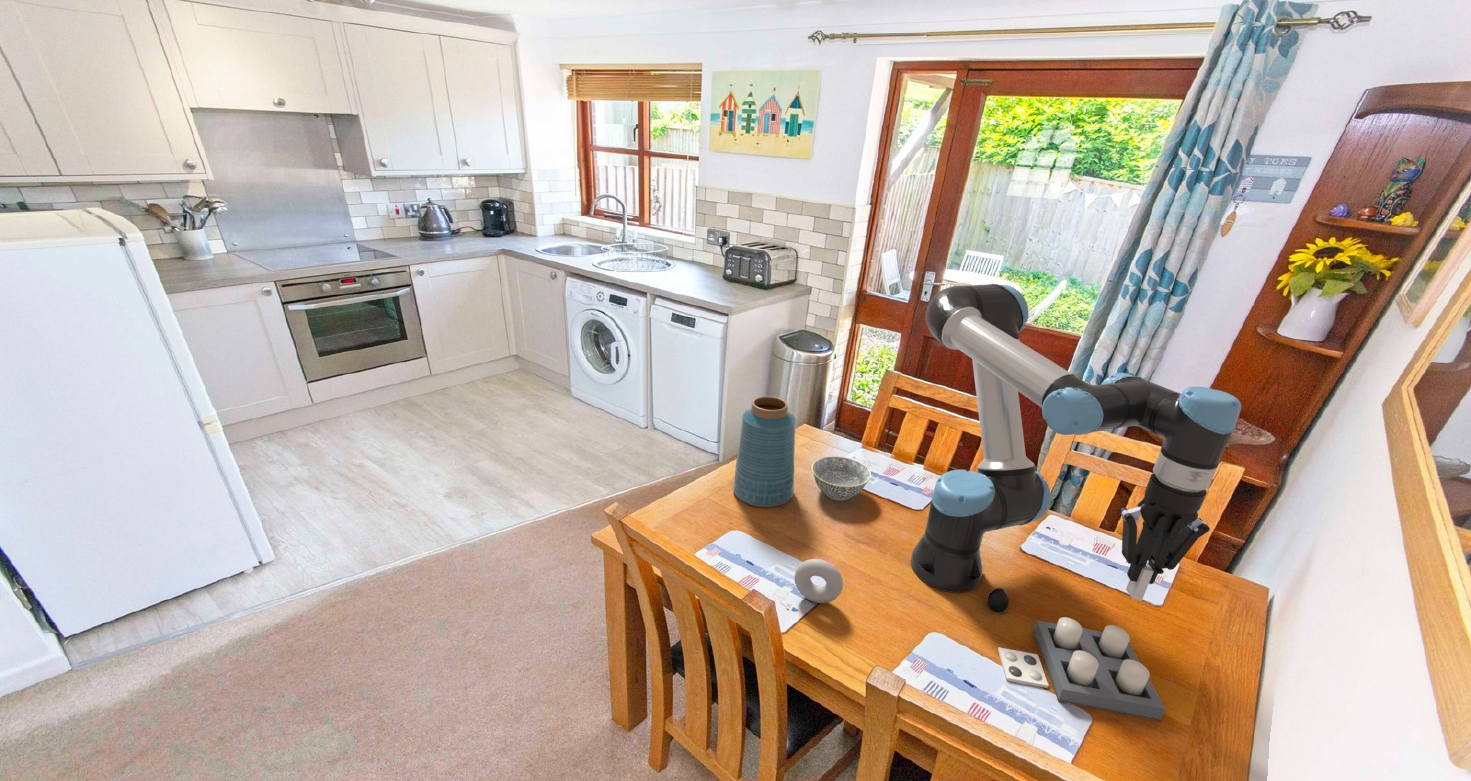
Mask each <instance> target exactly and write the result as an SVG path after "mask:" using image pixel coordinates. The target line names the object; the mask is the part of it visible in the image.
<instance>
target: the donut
mask: <svg viewBox="0 0 1471 781" xmlns="http://www.w3.org/2000/svg"><path fill="white" fill-rule="evenodd" d="M812 577H819V578H821V579H823V581H824V582H825V583H826V584H824V585H818V584H816V583H814V582H813V581H812ZM794 583H795V587H796V588H797V590H798V592H799V593H800V594H801V595H802V596H803V597H804V598H806V599H807V600H809V601H811V602H813V603H817V604H818V603H819V604H827V603H831V602H833V601H835V600H836V599H837V598H839V597H840V595H841V593H842V590H843V587H844V586H843V585H844V584H843V577H842V575H841V573H840V571H839V570H838V569H837V568H836V566H835V565H834V564H832V563H830V562H829V561H826V560H824V559H820V558H812V559H811V558H810V559H807V560H805V561H802V562H801V563H800V564H799V565H798V566H797V568H796V569H795V573H794Z"/></svg>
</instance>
